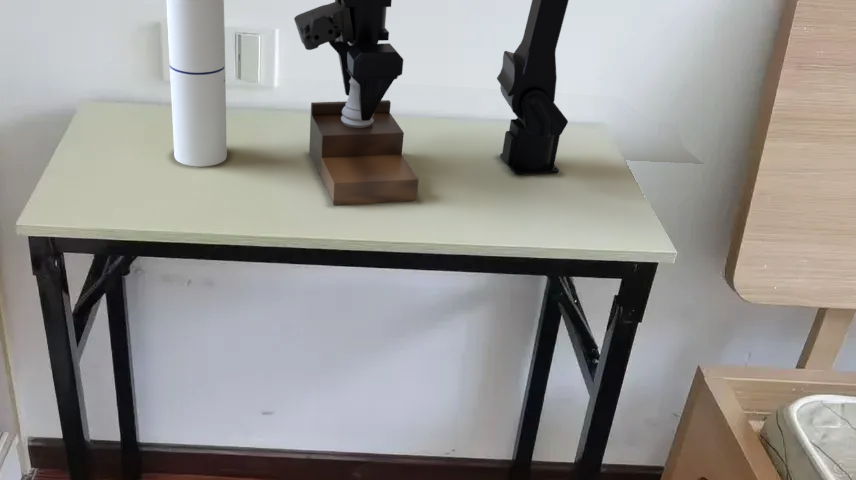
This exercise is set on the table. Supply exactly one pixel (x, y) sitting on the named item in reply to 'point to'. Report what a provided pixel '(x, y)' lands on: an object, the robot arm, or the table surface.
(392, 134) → the brown wooden stepped block
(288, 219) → the table surface
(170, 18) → the cylindrical container
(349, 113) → the rook chess piece
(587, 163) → the table surface
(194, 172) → the table surface
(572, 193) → the table surface
